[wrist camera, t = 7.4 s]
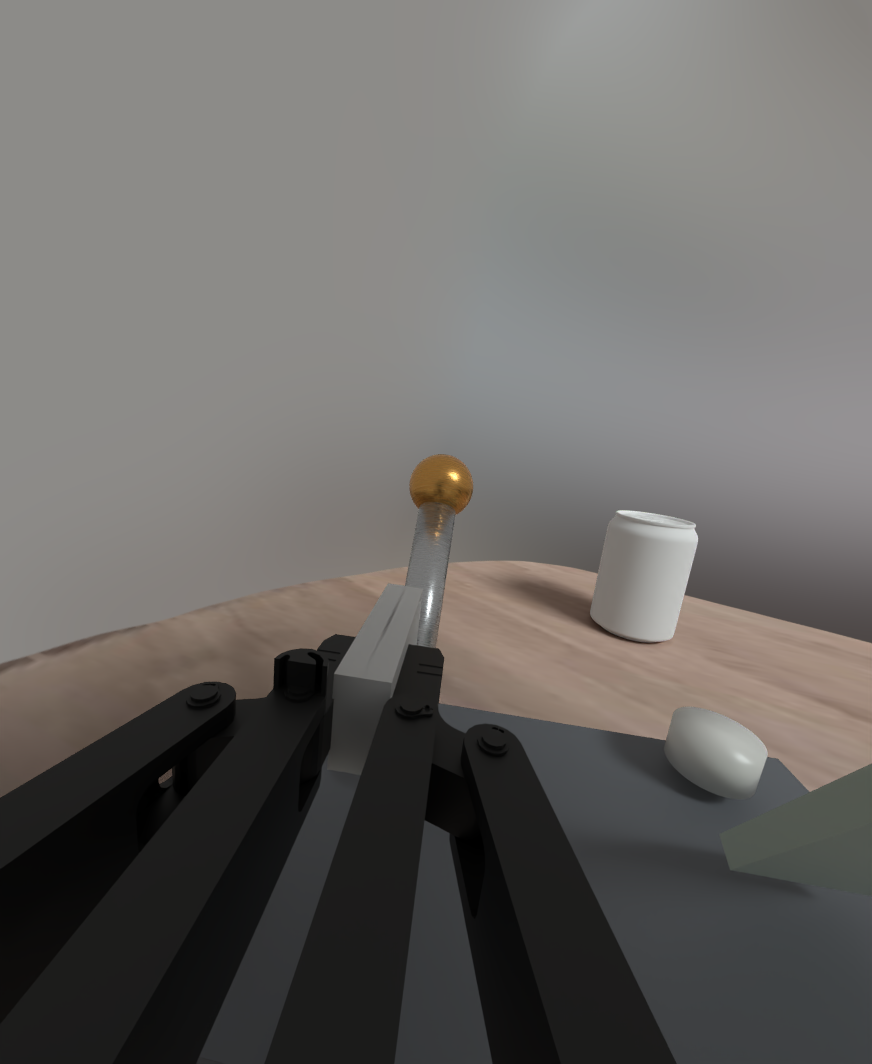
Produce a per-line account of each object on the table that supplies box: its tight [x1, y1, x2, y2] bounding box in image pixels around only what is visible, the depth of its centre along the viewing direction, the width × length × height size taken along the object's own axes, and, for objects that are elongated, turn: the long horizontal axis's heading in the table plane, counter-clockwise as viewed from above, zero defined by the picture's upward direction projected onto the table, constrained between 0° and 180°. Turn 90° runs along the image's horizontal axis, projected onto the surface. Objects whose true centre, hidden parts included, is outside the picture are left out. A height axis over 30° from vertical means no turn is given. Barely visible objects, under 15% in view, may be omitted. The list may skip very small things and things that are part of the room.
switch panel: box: [196, 703, 872, 1064], centre depth 16 cm, size 24×14×3 cm, turn 84°
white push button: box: [664, 707, 768, 799], centre depth 19 cm, size 4×4×2 cm
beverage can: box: [590, 510, 698, 643], centre depth 42 cm, size 8×8×12 cm
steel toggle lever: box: [405, 454, 473, 648], centre depth 19 cm, size 3×3×14 cm
